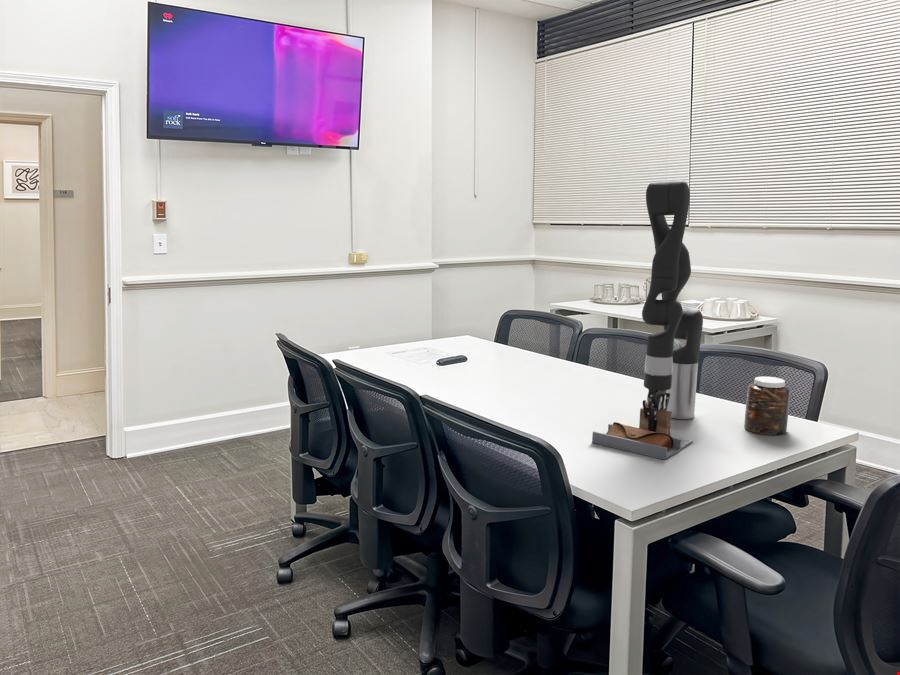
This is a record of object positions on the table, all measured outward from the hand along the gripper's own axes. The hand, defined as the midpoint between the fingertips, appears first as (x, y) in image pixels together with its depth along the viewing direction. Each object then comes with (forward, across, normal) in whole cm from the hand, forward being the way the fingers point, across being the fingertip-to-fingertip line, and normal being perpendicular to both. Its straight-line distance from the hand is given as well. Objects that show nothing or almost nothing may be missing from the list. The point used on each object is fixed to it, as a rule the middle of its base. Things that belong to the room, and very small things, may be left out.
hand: (654, 430), depth 209 cm
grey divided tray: (+2, +7, 0) cm, 7 cm away
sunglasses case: (+1, +12, 0) cm, 12 cm away
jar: (+2, -28, +22) cm, 35 cm away
